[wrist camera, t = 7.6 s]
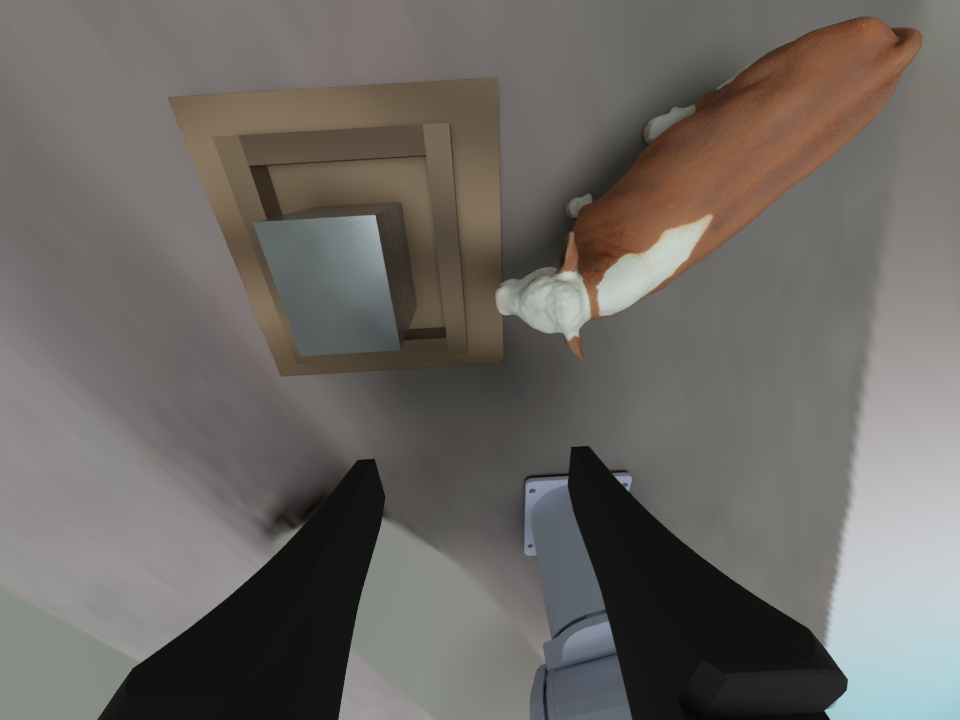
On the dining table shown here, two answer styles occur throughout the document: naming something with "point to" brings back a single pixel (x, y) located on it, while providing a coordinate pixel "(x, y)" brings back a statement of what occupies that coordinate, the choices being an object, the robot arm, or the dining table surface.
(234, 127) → the brown square tray
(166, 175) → the dining table surface
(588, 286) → the bull figurine
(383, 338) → the grey wood-grain block
